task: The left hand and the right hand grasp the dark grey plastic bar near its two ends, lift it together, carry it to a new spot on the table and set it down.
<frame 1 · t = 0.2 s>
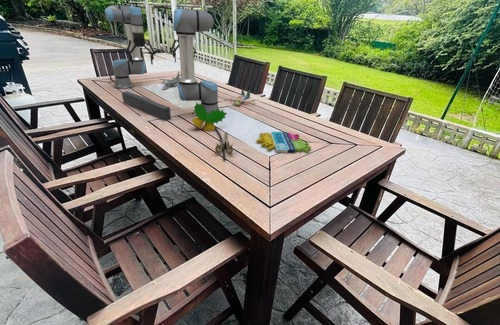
left hand: (142, 64, 193), 27 cm above the table, tool pointing down, fingers open, 13 cm apart
right hand: (184, 62, 211), 28 cm above the table, tool pointing down, fingers open, 13 cm apart
ornament: (209, 128, 165), on the table
airplane: (173, 85, 254), on the table
bar: (145, 110, 186), on the table
toy: (241, 101, 221), on the table
jawbone: (224, 151, 138), on the table
sign: (281, 143, 152), on the table
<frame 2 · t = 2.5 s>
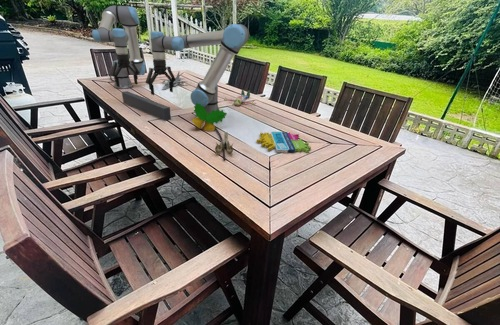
left hand: (127, 85, 190), 14 cm above the table, tool pointing down, fingers open, 13 cm apart
right hand: (162, 93, 172), 15 cm above the table, tool pointing down, fingers open, 13 cm apart
nothing on the table moved.
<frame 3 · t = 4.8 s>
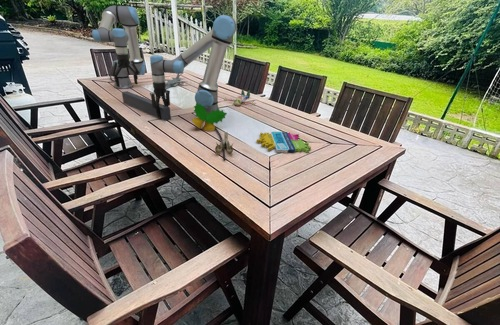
left hand: (127, 85, 190), 14 cm above the table, tool pointing down, fingers open, 13 cm apart
right hand: (162, 117, 176), 1 cm above the table, tool pointing down, fingers closed on bar, 4 cm apart
bar: (145, 110, 186), on the table, touching right hand
everything else where it was.
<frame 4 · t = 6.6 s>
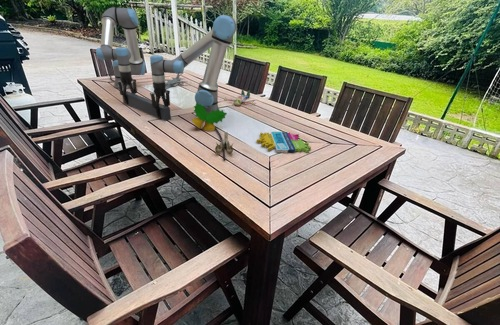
left hand: (130, 103, 196), 1 cm above the table, tool pointing down, fingers closed on bar, 4 cm apart
right hand: (162, 117, 176), 1 cm above the table, tool pointing down, fingers closed on bar, 4 cm apart
bar: (145, 110, 186), on the table, touching right hand, left hand
everything else where it was.
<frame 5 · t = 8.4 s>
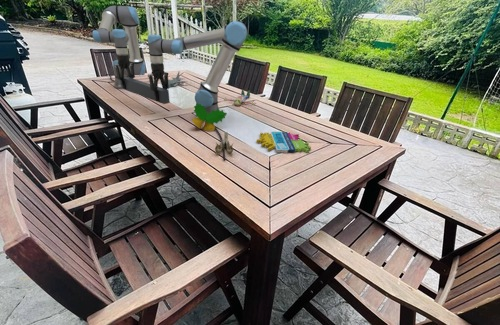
left hand: (128, 88, 191), 12 cm above the table, tool pointing down, fingers closed on bar, 4 cm apart
right hand: (161, 100, 170), 12 cm above the table, tool pointing down, fingers closed on bar, 4 cm apart
bar: (143, 95, 181), point 11 cm above the table, touching right hand, left hand
everything else where it was.
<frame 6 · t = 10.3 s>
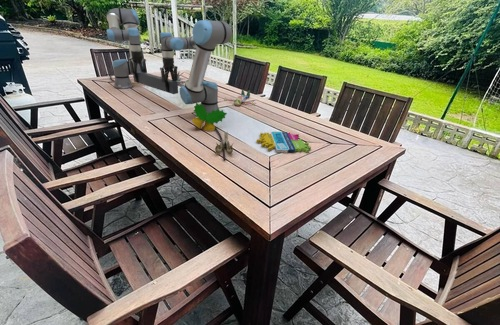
left hand: (140, 81, 212), 12 cm above the table, tool pointing down, fingers closed on bar, 4 cm apart
right hand: (170, 91, 191), 12 cm above the table, tool pointing down, fingers closed on bar, 5 cm apart
bar: (154, 87, 202), point 11 cm above the table, touching right hand, left hand
everything else where it was.
when the left hand's fingers open (2 cm above the table, at t = 12.1 s): bar drops 1 cm, on the table.
when the right hand's fingers open (2 cm above the table, at t = 12.2 s): bar drops 1 cm, on the table.
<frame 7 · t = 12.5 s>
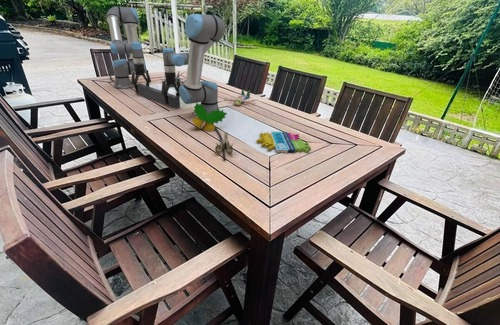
left hand: (142, 91, 217), 3 cm above the table, tool pointing down, fingers open, 9 cm apart
right hand: (172, 102, 197), 3 cm above the table, tool pointing down, fingers open, 9 cm apart
bar: (157, 100, 209), on the table
everything else where it was.
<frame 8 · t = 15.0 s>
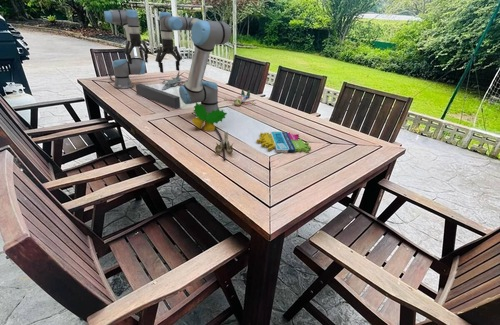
left hand: (138, 63, 206), 26 cm above the table, tool pointing down, fingers open, 13 cm apart
right hand: (170, 71, 186), 26 cm above the table, tool pointing down, fingers open, 13 cm apart
nothing on the table moved.
at the end: bar inside the target area (0.2 cm from its centre), on the table; bar tilted 0°; bar never tilted more than 1° during the clip; both hands held the bar at the same time; the left hand is holding nothing; the right hand is holding nothing; bar at rest at the end (0.0 cm/s) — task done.
